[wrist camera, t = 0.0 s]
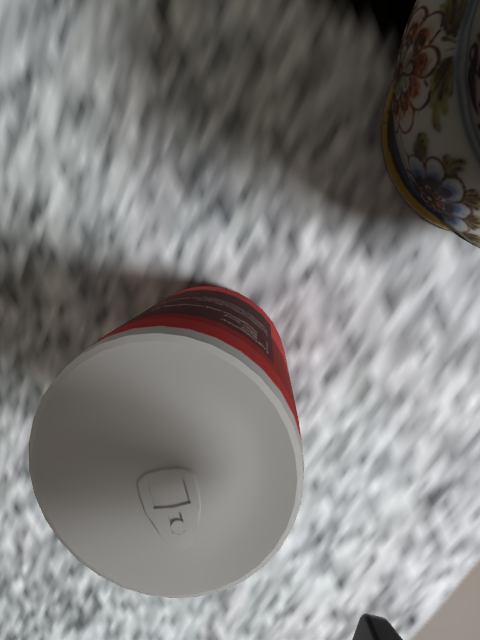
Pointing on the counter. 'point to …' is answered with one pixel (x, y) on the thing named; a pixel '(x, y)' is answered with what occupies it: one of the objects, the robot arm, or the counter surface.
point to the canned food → (173, 447)
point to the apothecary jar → (437, 116)
